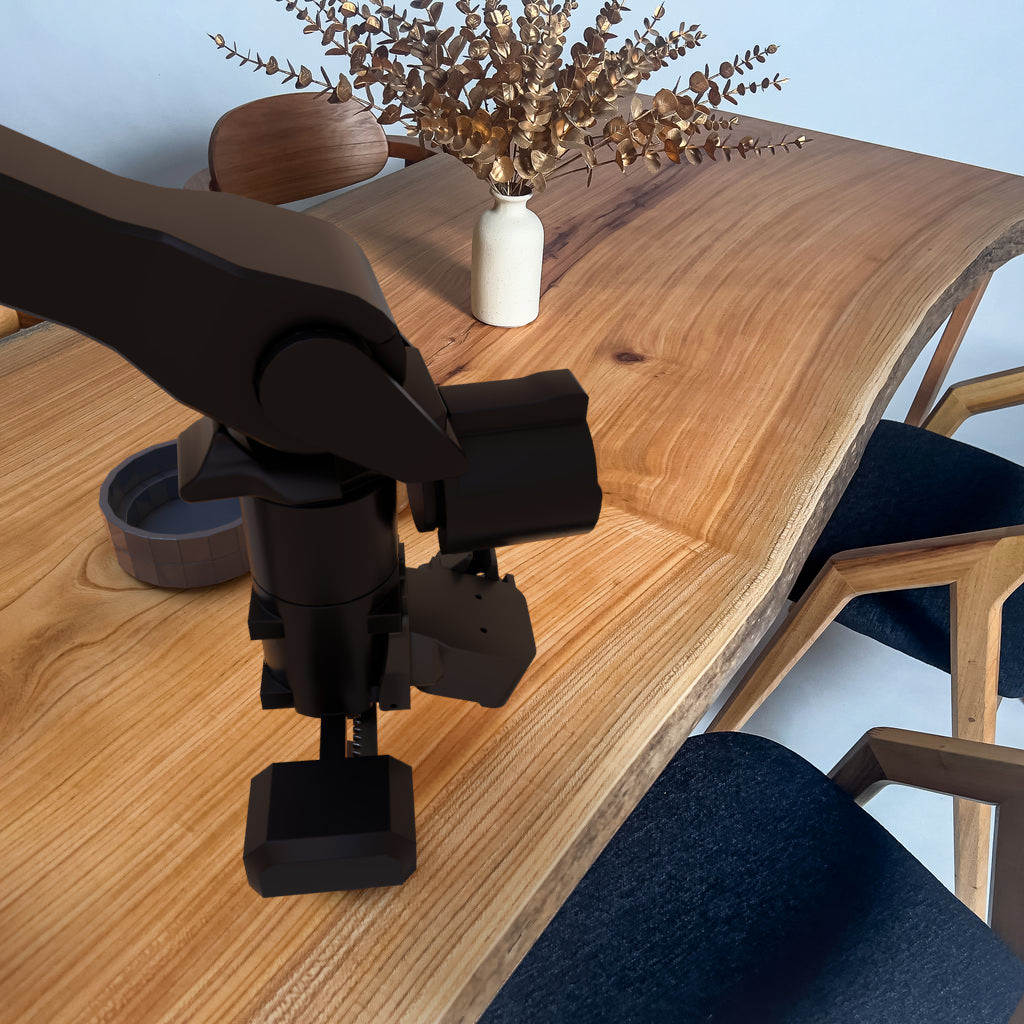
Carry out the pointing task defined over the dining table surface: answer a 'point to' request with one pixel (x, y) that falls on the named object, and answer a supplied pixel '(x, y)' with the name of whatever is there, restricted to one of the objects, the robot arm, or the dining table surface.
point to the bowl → (169, 524)
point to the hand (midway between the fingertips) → (346, 790)
